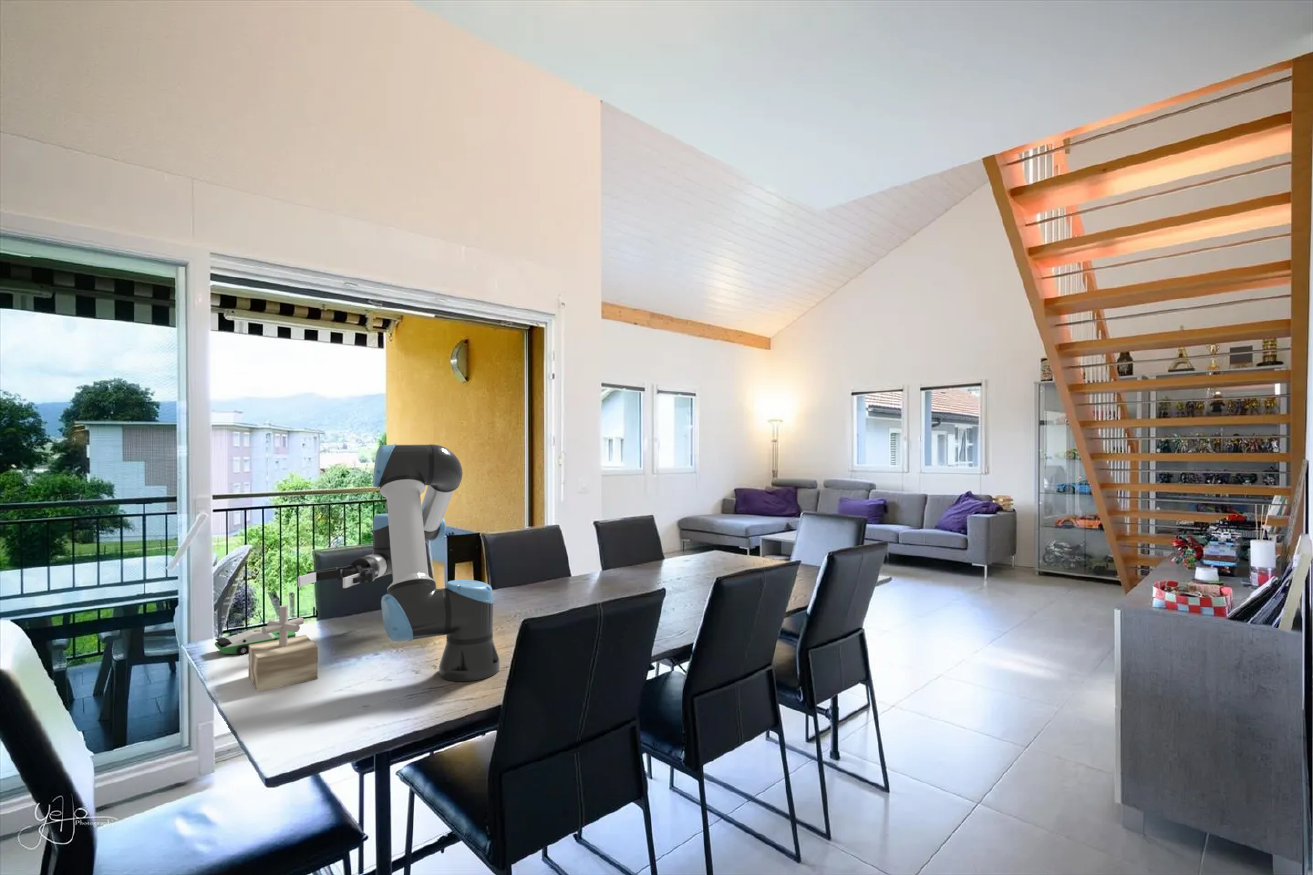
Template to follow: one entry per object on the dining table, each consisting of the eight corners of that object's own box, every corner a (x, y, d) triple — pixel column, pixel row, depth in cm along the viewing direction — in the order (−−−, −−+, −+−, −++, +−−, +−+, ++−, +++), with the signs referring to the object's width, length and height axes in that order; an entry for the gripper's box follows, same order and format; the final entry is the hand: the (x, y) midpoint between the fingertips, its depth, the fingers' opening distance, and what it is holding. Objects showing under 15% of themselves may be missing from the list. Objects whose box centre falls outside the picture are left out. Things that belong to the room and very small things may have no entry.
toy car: (299, 644, 190) (299, 627, 190) (221, 660, 176) (221, 642, 176) (288, 637, 197) (288, 620, 197) (213, 651, 183) (213, 634, 184)
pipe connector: (251, 648, 160) (251, 608, 161) (288, 637, 169) (289, 599, 170) (277, 654, 156) (277, 613, 156) (314, 642, 165) (314, 603, 165)
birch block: (317, 678, 162) (317, 646, 162) (257, 691, 154) (257, 658, 154) (305, 664, 172) (305, 634, 172) (248, 676, 163) (248, 644, 163)
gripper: (405, 581, 195) (363, 597, 174) (330, 579, 199) (280, 594, 178) (405, 556, 196) (363, 569, 175) (330, 555, 199) (280, 567, 178)
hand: (321, 582), depth 176 cm, fingers open, 13 cm apart
